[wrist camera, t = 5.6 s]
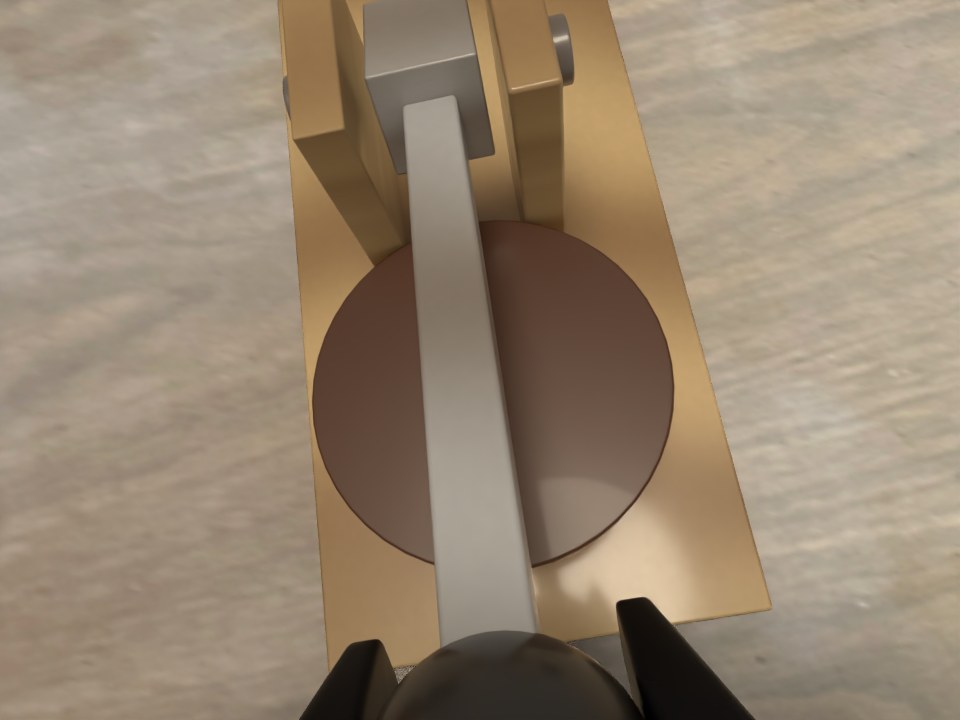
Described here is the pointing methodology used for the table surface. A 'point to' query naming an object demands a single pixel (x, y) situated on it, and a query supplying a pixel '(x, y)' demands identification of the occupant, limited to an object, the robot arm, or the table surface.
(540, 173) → the slicer
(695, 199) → the table surface
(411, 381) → the cake
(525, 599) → the blade
